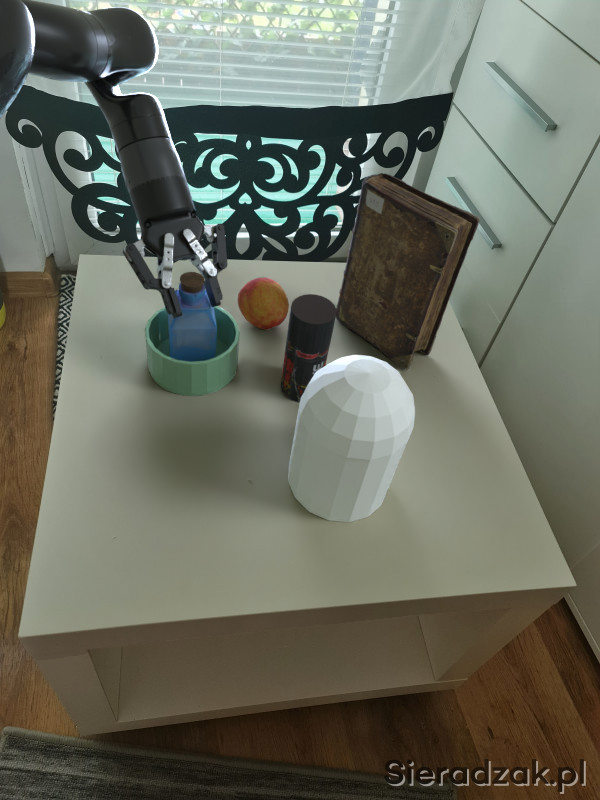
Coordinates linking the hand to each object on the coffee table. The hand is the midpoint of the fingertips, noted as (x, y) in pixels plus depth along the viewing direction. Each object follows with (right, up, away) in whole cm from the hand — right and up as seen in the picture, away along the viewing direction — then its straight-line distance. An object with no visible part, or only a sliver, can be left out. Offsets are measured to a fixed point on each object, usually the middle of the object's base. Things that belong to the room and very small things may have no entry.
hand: (197, 310), depth 82 cm
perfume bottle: (-2, -4, +7) cm, 9 cm away
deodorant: (+14, -10, +9) cm, 19 cm away
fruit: (+8, +1, +18) cm, 19 cm away
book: (+27, -1, +19) cm, 33 cm away
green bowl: (-2, -6, +9) cm, 12 cm away
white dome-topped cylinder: (+19, -22, -1) cm, 29 cm away
